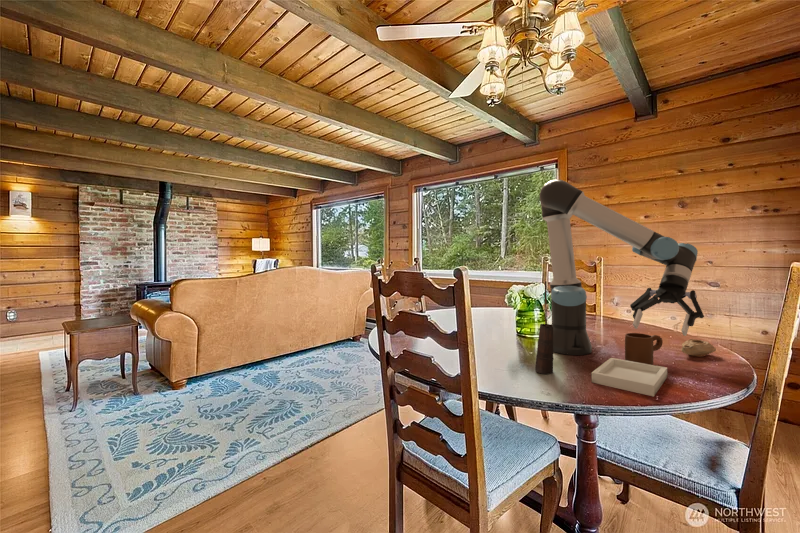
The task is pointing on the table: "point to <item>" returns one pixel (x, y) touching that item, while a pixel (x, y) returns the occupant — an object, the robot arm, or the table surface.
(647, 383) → the tray
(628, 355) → the mug
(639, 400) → the table surface
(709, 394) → the table surface
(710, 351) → the pottery oil lamp
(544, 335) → the butter churn
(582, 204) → the robot arm
